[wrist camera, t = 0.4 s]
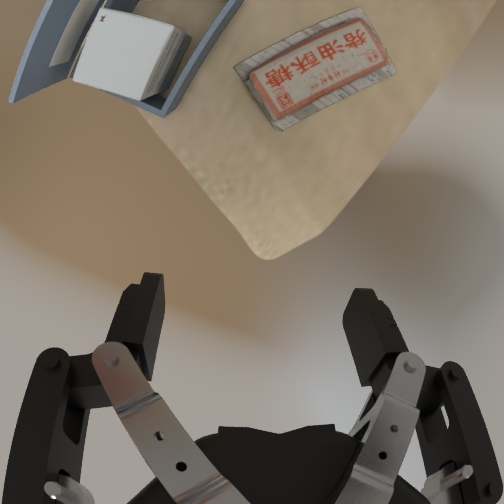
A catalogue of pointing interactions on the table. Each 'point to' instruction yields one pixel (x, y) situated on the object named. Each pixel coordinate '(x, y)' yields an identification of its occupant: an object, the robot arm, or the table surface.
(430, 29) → the table surface
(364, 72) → the packaged product
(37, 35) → the lid
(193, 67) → the open blue-gray box
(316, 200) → the table surface
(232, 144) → the table surface
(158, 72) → the supplement box
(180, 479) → the robot arm
